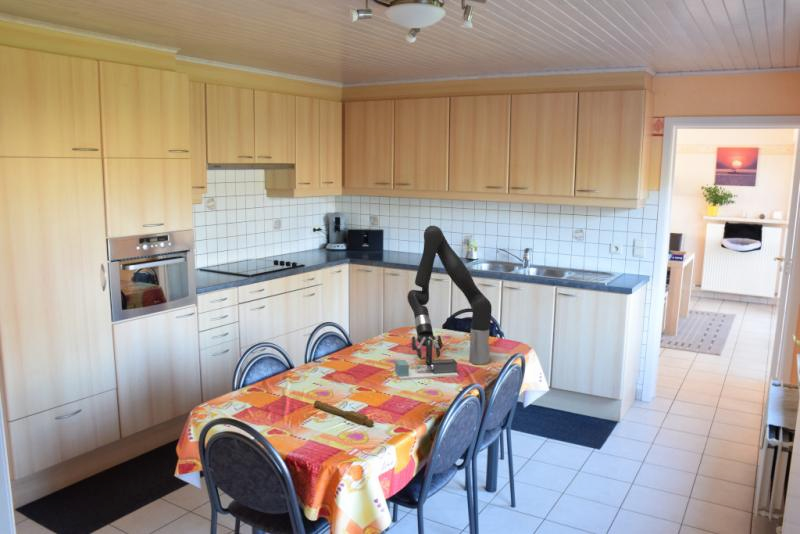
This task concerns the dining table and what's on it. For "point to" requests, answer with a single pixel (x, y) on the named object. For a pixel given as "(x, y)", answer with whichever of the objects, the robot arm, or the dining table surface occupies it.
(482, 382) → the dining table surface
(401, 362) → the socket block
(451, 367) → the outer sleeve
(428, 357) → the slip tube
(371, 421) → the brown wooden stick
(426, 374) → the base board
